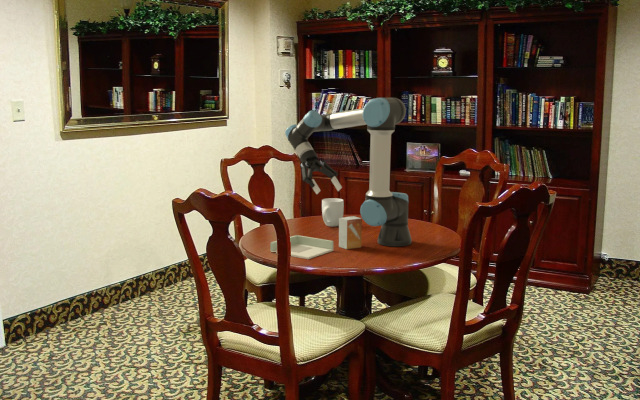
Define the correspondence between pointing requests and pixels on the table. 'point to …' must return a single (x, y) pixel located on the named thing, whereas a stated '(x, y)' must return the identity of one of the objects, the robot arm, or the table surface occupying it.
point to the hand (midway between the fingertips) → (329, 190)
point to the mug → (332, 211)
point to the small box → (350, 232)
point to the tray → (306, 246)
